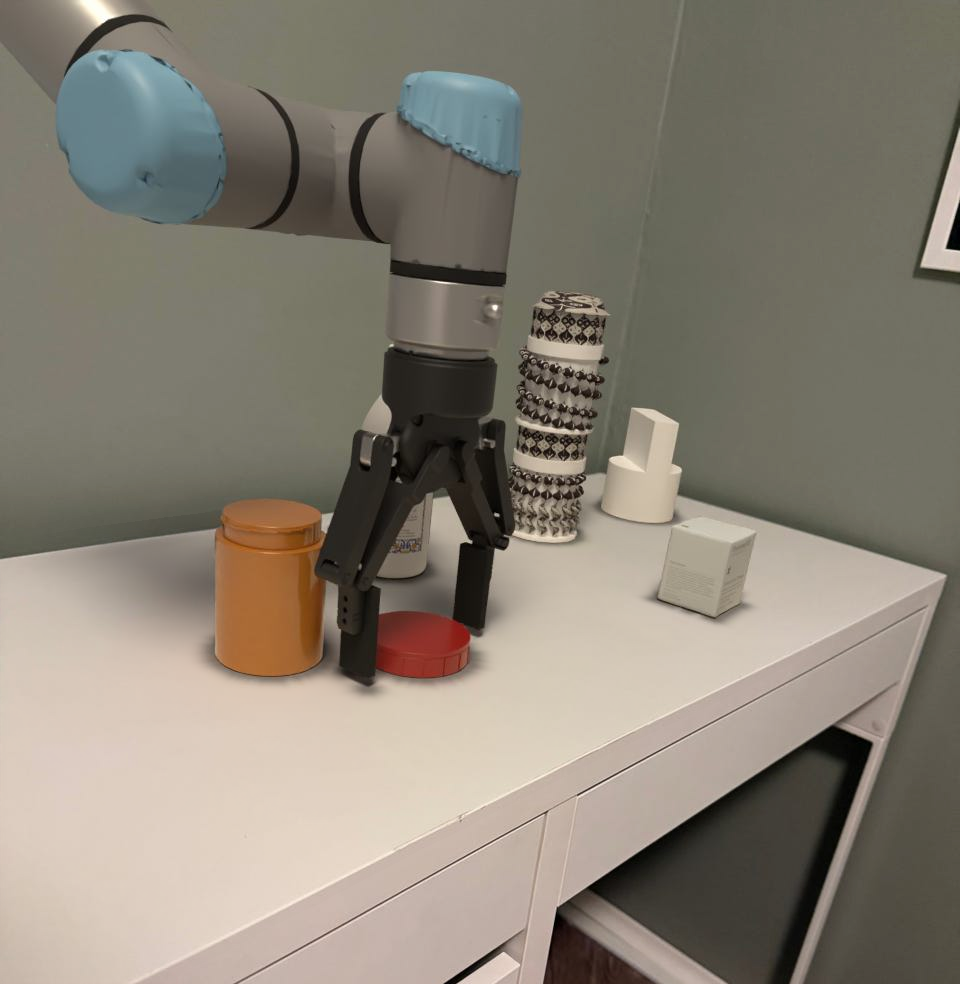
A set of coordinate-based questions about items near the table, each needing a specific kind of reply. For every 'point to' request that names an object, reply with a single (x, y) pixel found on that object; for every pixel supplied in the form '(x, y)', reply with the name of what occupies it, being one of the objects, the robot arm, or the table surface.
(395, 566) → the bath foam
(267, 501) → the jam jar
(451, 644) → the lid
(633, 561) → the table surface
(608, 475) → the cylinder with rectangular tab
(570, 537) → the decorative candle
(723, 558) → the product box
